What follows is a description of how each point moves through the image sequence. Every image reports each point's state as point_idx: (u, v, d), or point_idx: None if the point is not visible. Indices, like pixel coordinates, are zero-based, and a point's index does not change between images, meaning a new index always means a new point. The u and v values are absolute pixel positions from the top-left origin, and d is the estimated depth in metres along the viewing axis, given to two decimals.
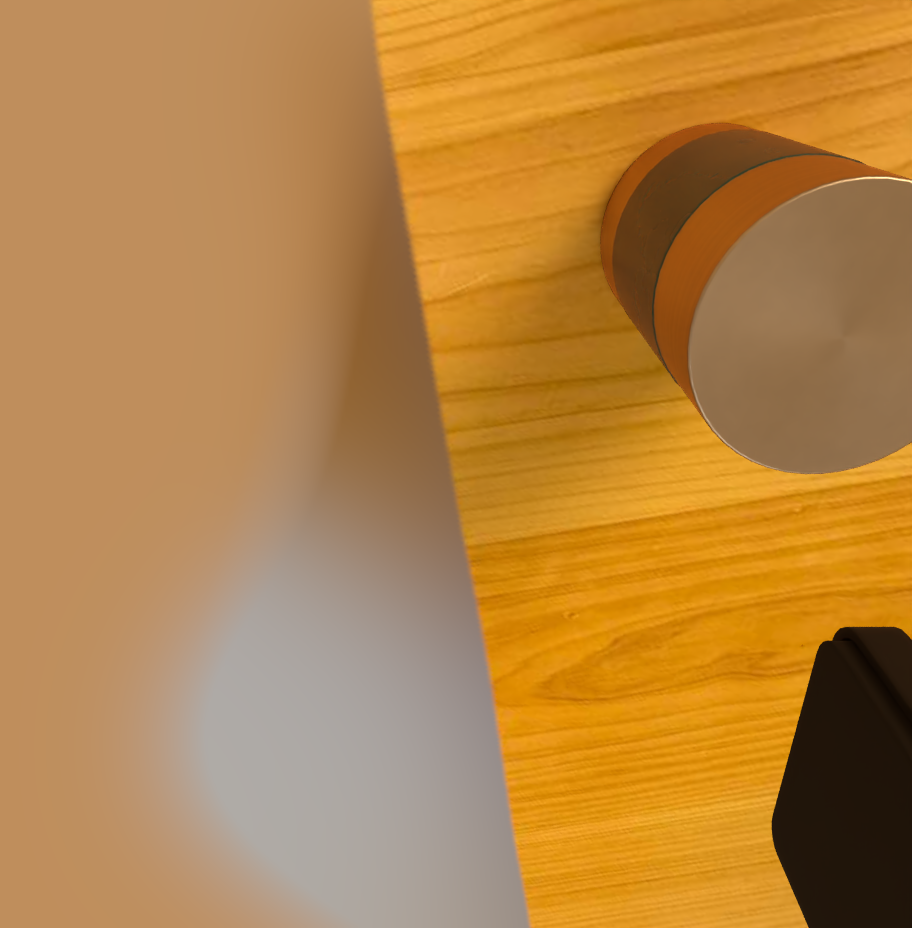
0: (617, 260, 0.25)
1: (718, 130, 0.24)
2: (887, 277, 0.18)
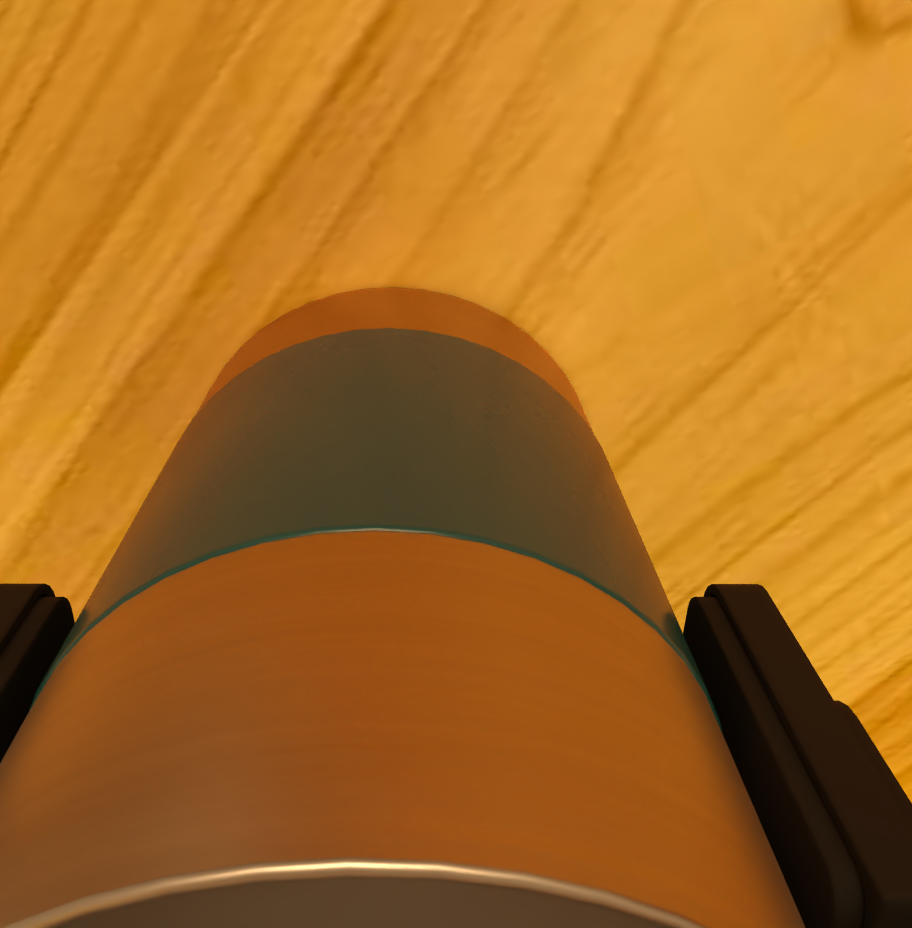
0: None
1: (204, 403, 0.12)
2: None
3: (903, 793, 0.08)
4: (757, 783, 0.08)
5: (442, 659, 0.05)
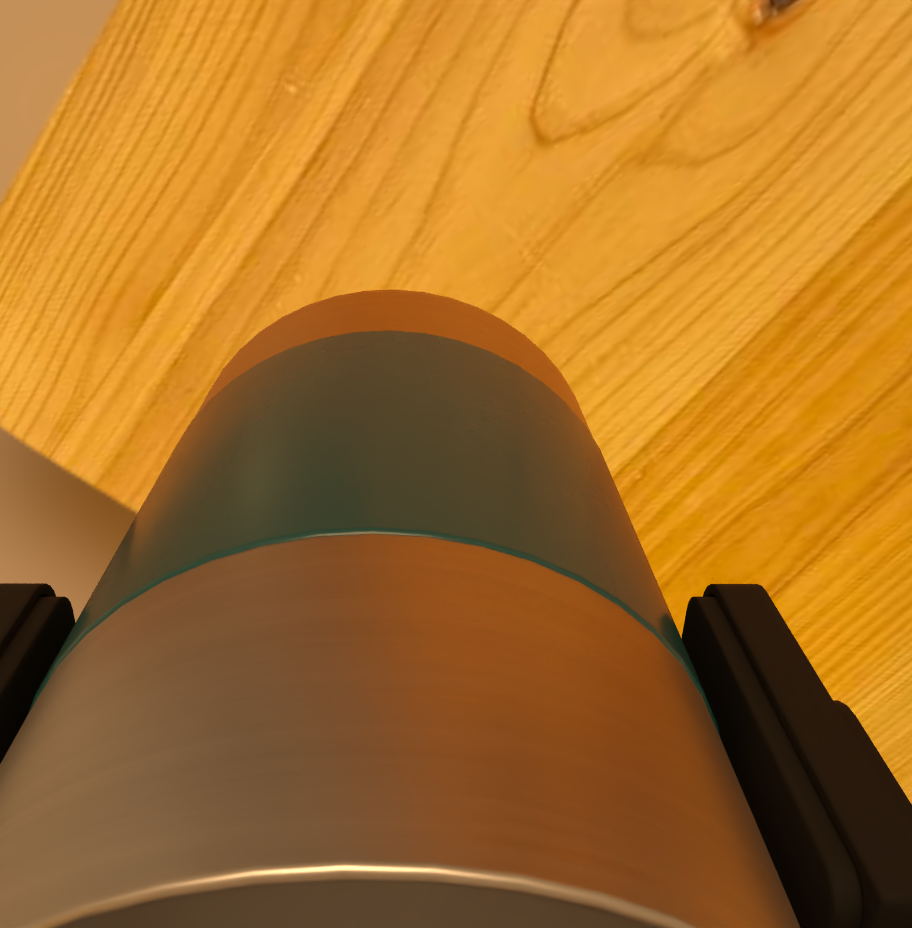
0: None
1: (203, 405, 0.12)
2: None
3: (902, 792, 0.08)
4: (756, 783, 0.08)
5: (439, 663, 0.05)
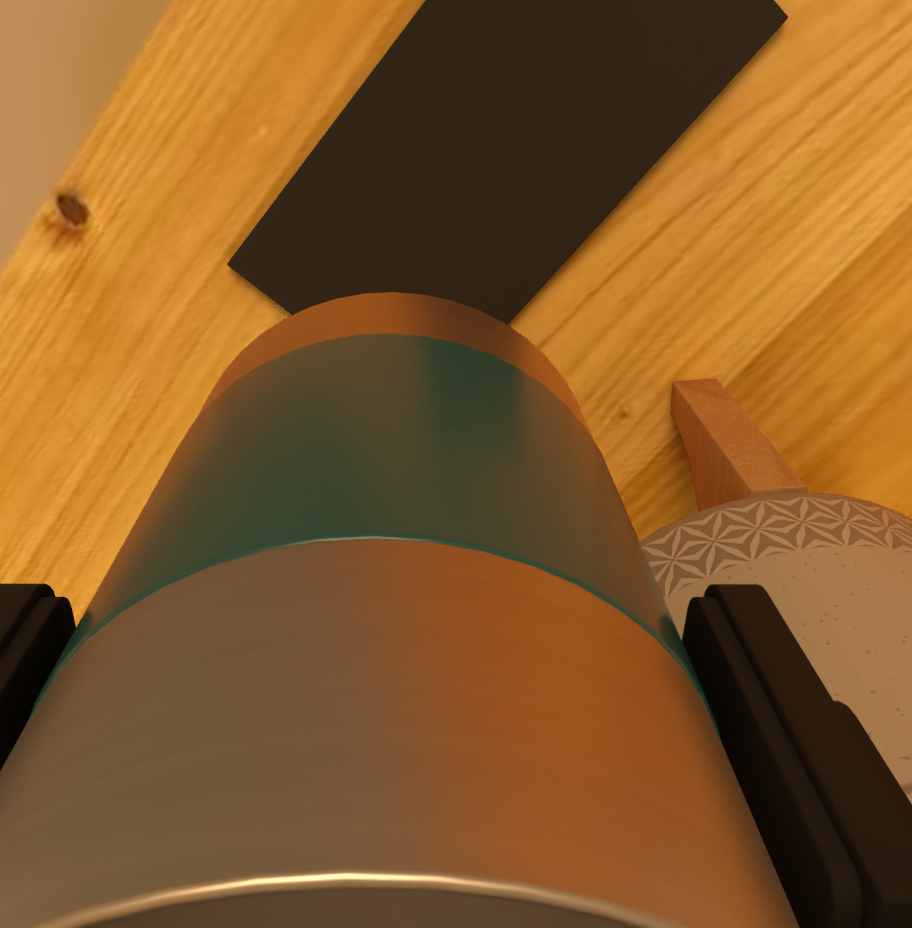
0: None
1: (204, 408, 0.12)
2: None
3: (903, 793, 0.08)
4: (757, 783, 0.08)
5: (441, 669, 0.05)
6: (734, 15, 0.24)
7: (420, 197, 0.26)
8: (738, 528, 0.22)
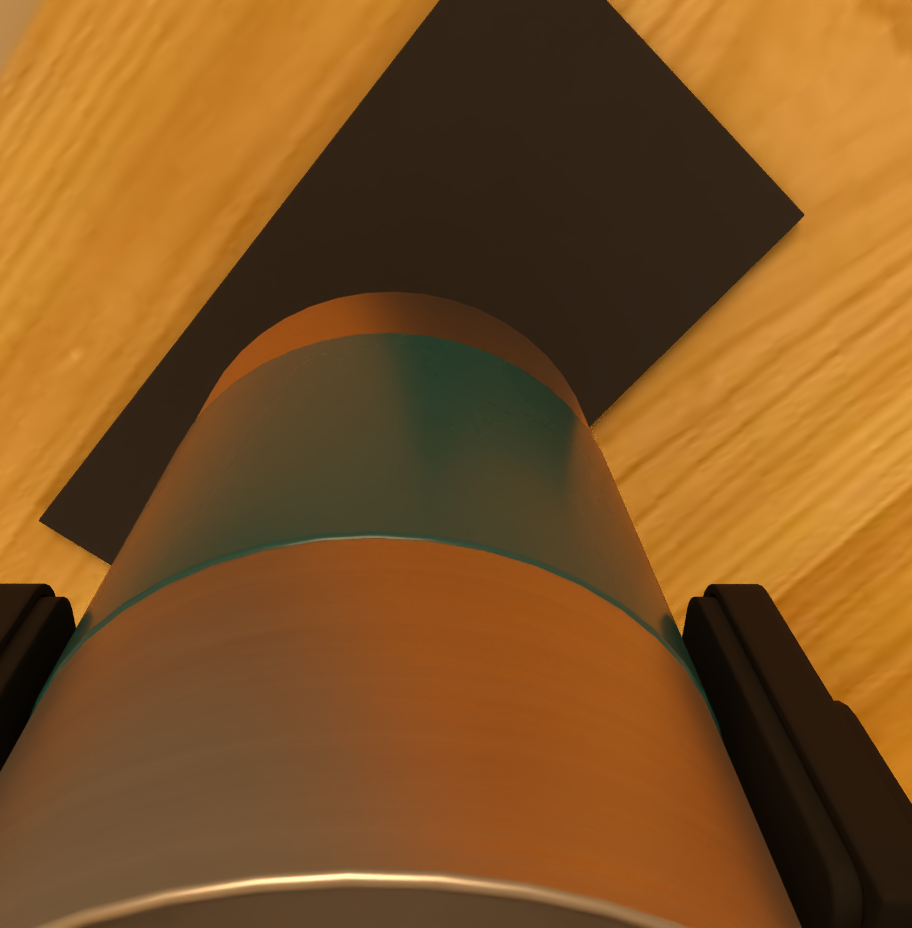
0: None
1: (205, 407, 0.12)
2: None
3: (902, 793, 0.08)
4: (757, 783, 0.08)
5: (442, 668, 0.05)
6: (729, 213, 0.17)
7: None
8: None
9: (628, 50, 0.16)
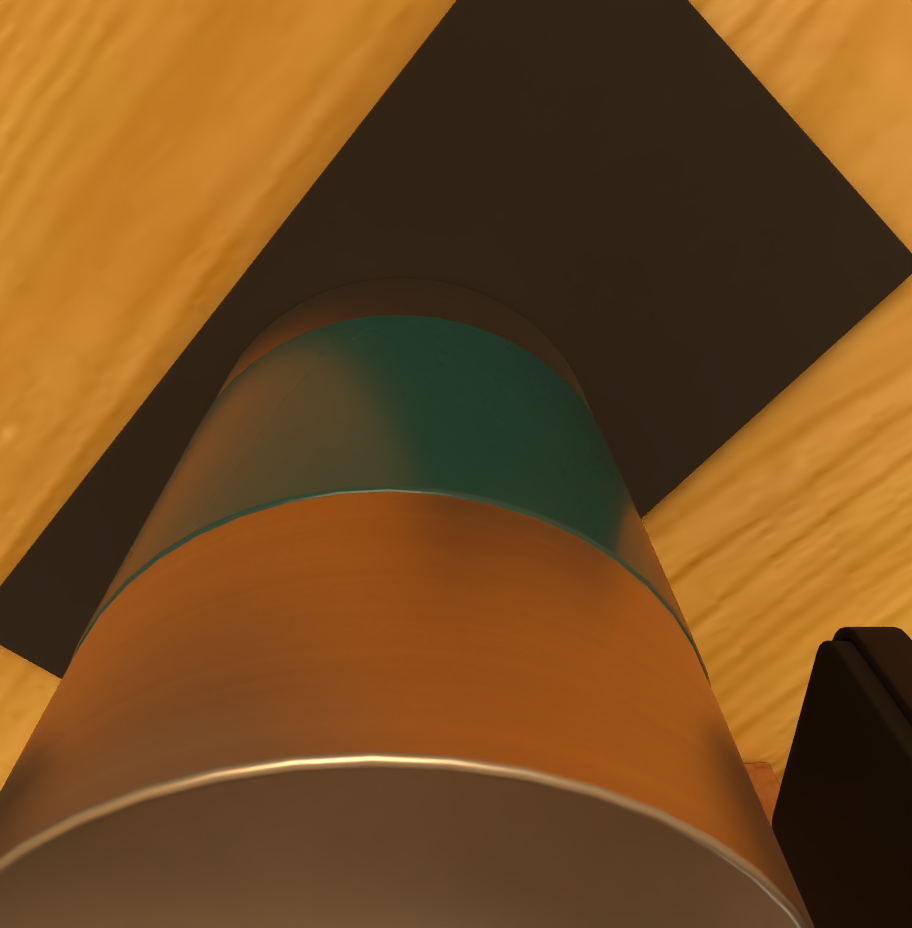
0: None
1: (225, 386, 0.13)
2: None
3: None
4: None
5: (452, 598, 0.06)
6: (826, 262, 0.14)
7: None
8: None
9: (707, 58, 0.12)
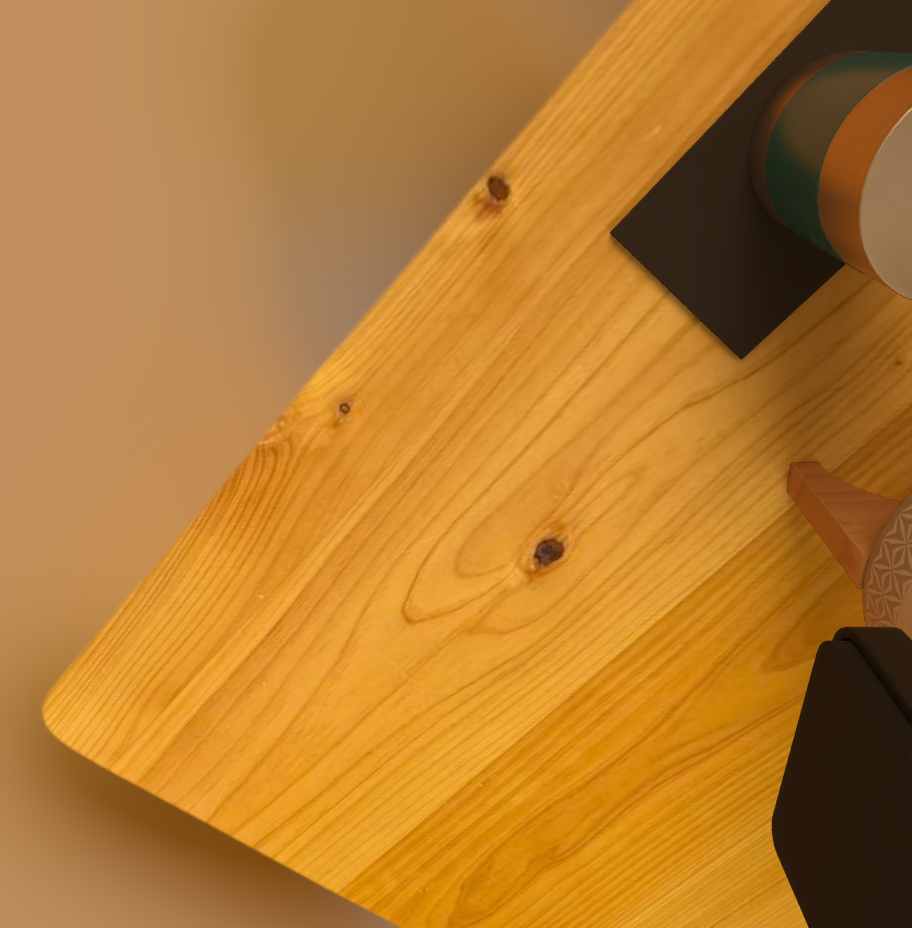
0: (786, 220, 0.32)
1: (796, 87, 0.31)
2: None
3: None
4: None
5: None
6: None
7: None
8: None
9: None
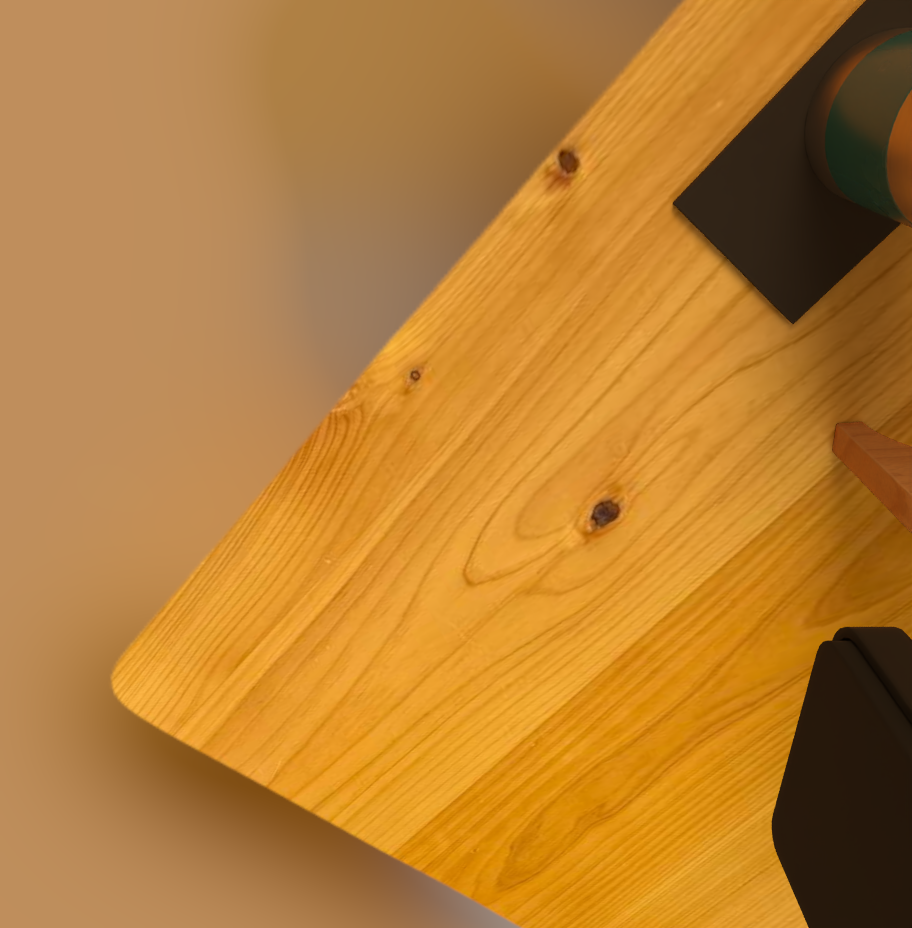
0: (844, 187, 0.34)
1: (854, 62, 0.33)
2: None
3: None
4: None
5: None
6: None
7: None
8: None
9: None
